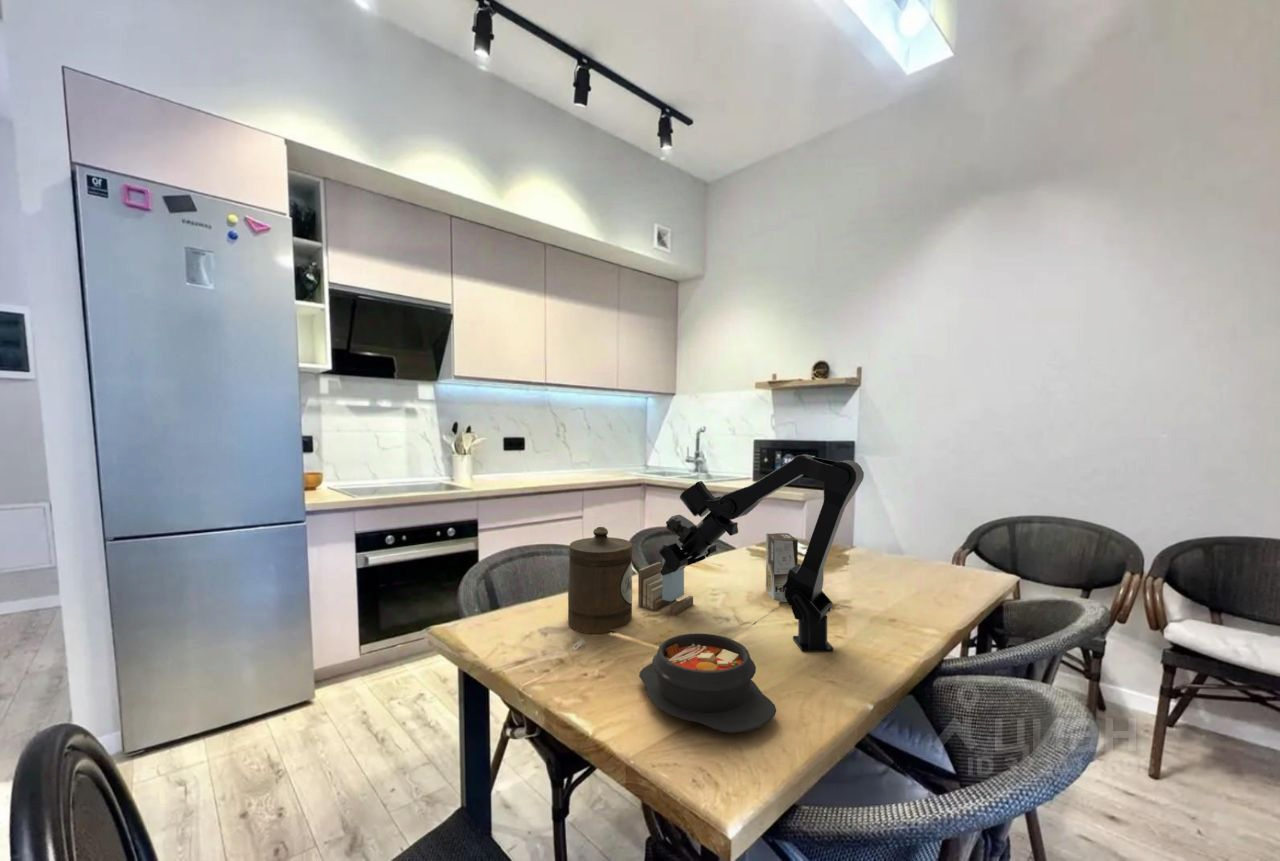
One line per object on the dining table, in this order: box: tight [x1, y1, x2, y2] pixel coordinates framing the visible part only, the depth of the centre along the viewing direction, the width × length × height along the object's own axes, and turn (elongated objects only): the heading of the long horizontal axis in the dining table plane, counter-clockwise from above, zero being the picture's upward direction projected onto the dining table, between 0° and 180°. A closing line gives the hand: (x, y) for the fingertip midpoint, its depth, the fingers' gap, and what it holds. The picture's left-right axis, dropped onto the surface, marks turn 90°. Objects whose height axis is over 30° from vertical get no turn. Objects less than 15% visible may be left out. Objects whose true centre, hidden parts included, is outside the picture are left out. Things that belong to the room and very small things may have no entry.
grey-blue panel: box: [661, 547, 685, 601], centre depth 125 cm, size 2×6×12 cm, turn 144°
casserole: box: [638, 632, 777, 734], centre depth 84 cm, size 25×19×8 cm
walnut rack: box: [637, 561, 695, 617], centre depth 126 cm, size 11×9×10 cm
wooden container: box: [567, 526, 633, 635], centre depth 118 cm, size 15×15×22 cm
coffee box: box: [765, 532, 799, 603], centre depth 135 cm, size 9×6×16 cm
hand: (668, 570), depth 126 cm, fingers closed on grey-blue panel, 6 cm apart
